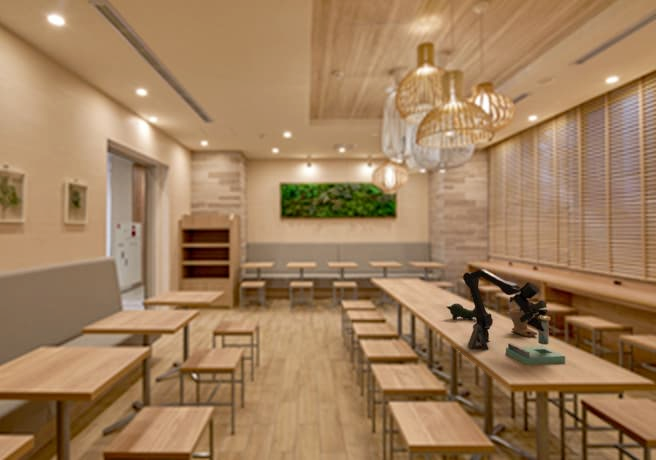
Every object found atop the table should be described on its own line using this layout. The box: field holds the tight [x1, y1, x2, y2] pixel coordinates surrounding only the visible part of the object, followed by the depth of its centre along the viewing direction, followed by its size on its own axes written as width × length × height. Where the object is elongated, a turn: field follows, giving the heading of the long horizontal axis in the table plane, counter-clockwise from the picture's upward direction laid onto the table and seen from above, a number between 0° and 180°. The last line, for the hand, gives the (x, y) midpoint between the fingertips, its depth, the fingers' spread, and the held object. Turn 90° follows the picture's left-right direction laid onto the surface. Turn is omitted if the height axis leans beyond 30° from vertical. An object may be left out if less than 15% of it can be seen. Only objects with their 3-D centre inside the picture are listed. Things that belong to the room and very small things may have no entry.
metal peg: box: [537, 315, 552, 346], centre depth 190 cm, size 6×6×13 cm
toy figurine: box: [445, 294, 484, 321], centre depth 270 cm, size 9×19×25 cm
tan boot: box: [509, 308, 538, 337], centre depth 232 cm, size 15×12×15 cm
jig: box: [505, 343, 566, 365], centre depth 189 cm, size 20×16×5 cm
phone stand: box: [467, 323, 490, 351], centre depth 205 cm, size 9×6×12 cm, turn 88°
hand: (546, 330), depth 189 cm, fingers closed on metal peg, 5 cm apart
